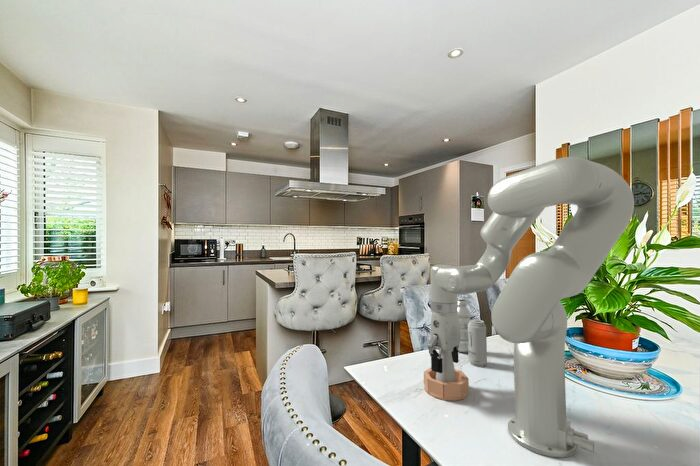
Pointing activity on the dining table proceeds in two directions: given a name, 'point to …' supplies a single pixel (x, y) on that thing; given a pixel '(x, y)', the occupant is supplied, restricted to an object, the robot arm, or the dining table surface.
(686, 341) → the dining table surface
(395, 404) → the dining table surface
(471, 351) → the energy drink can
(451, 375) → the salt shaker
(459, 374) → the octagonal orange bowl
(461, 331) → the plastic bottle
